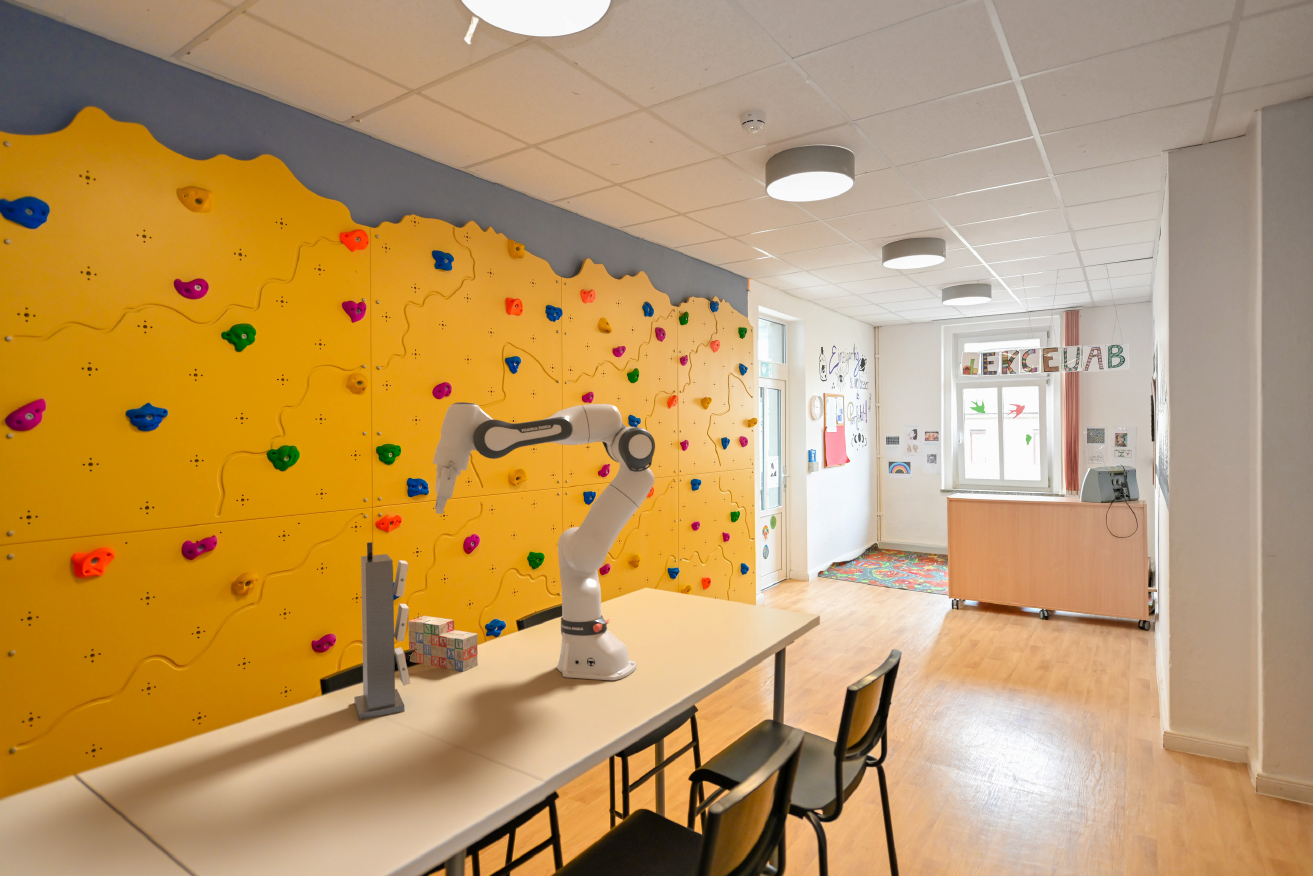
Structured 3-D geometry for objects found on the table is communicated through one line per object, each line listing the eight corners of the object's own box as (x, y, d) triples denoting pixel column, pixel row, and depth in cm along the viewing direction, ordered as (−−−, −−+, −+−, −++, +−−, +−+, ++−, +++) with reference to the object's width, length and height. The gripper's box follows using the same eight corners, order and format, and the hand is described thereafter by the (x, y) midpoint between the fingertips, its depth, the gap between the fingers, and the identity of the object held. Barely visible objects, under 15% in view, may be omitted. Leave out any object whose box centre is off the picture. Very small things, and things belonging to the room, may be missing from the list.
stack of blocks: (478, 665, 193) (477, 623, 193) (462, 672, 187) (462, 628, 187) (424, 655, 203) (424, 614, 203) (408, 661, 197) (407, 620, 197)
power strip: (396, 694, 171) (394, 537, 171) (404, 711, 161) (401, 543, 161) (354, 702, 166) (351, 540, 166) (359, 720, 156) (356, 547, 156)
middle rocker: (401, 635, 169) (406, 604, 169) (404, 641, 164) (410, 608, 165) (393, 635, 168) (399, 603, 168) (396, 641, 163) (402, 608, 164)
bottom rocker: (407, 676, 169) (401, 646, 169) (411, 683, 165) (404, 652, 164) (400, 679, 169) (394, 649, 168) (403, 686, 164) (397, 655, 163)
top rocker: (400, 592, 169) (405, 560, 169) (403, 596, 164) (409, 563, 165) (393, 592, 168) (398, 560, 168) (396, 596, 163) (401, 563, 164)
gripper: (465, 464, 169) (452, 518, 168) (460, 462, 188) (448, 510, 187) (440, 459, 167) (426, 513, 166) (437, 456, 186) (425, 505, 185)
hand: (438, 511), depth 177 cm, fingers open, 8 cm apart
